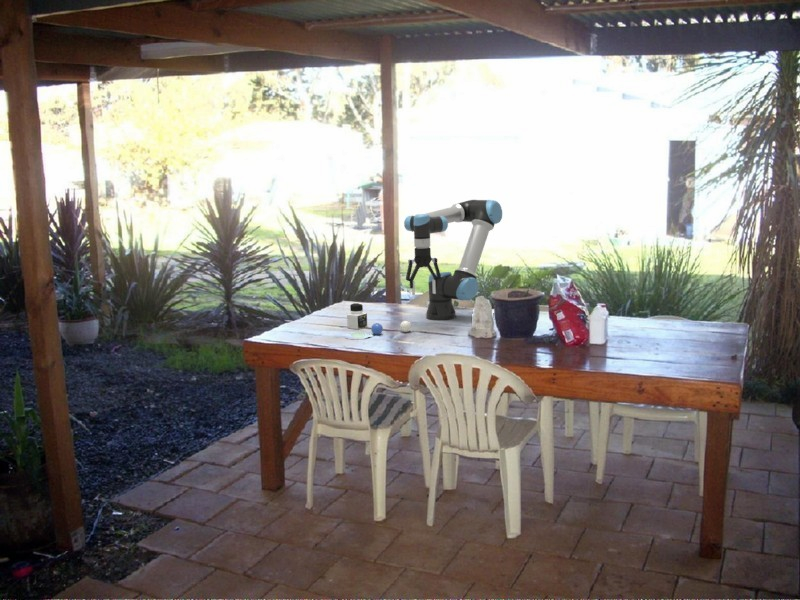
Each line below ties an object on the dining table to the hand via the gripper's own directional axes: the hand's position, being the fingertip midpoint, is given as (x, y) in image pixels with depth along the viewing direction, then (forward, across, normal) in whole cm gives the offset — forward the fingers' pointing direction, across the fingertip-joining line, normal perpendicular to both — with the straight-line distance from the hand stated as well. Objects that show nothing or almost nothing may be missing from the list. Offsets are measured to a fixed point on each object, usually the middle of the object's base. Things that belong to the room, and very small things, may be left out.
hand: (423, 294), depth 388 cm
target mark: (+18, -32, 0) cm, 37 cm away
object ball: (+15, -23, 0) cm, 28 cm away
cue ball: (+15, -9, 0) cm, 18 cm away
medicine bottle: (+18, -30, +19) cm, 39 cm away
